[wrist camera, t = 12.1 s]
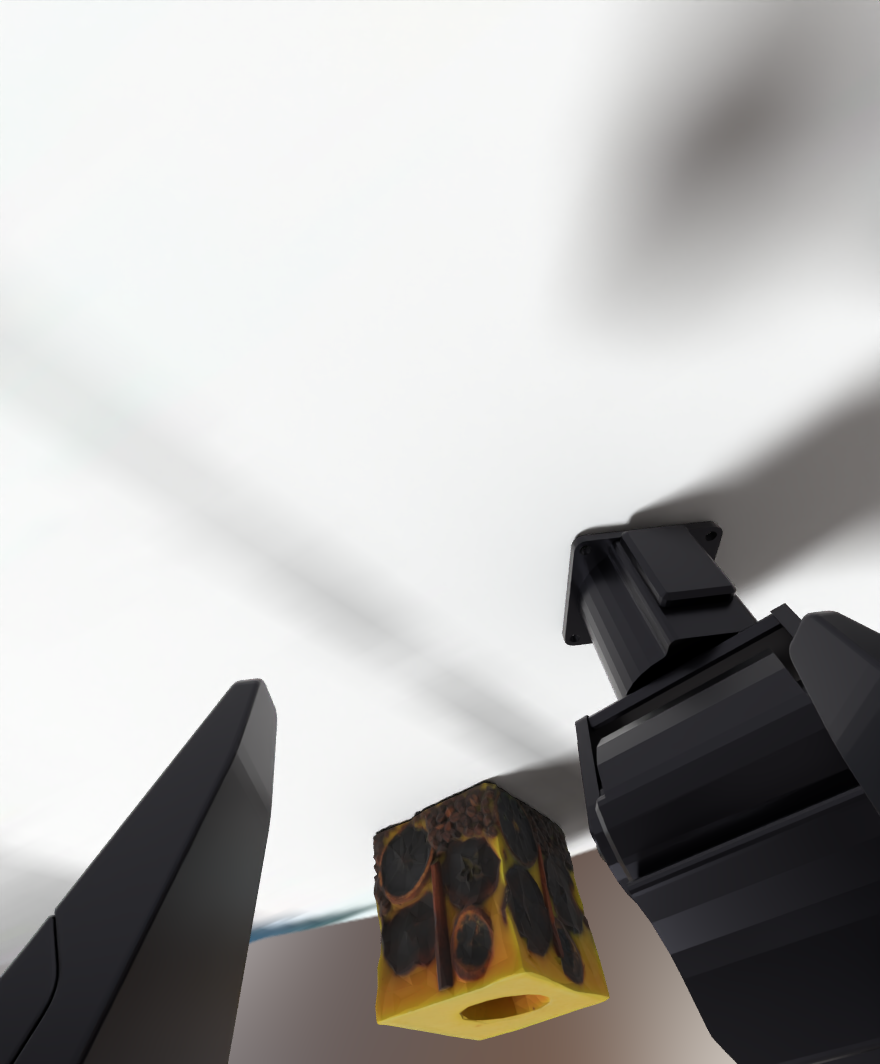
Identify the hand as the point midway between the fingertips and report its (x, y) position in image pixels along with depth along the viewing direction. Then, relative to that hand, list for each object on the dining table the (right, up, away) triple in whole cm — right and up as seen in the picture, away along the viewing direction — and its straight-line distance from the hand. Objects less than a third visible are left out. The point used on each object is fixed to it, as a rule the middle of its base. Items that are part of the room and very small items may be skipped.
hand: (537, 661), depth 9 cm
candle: (+1, -19, +29) cm, 35 cm away
